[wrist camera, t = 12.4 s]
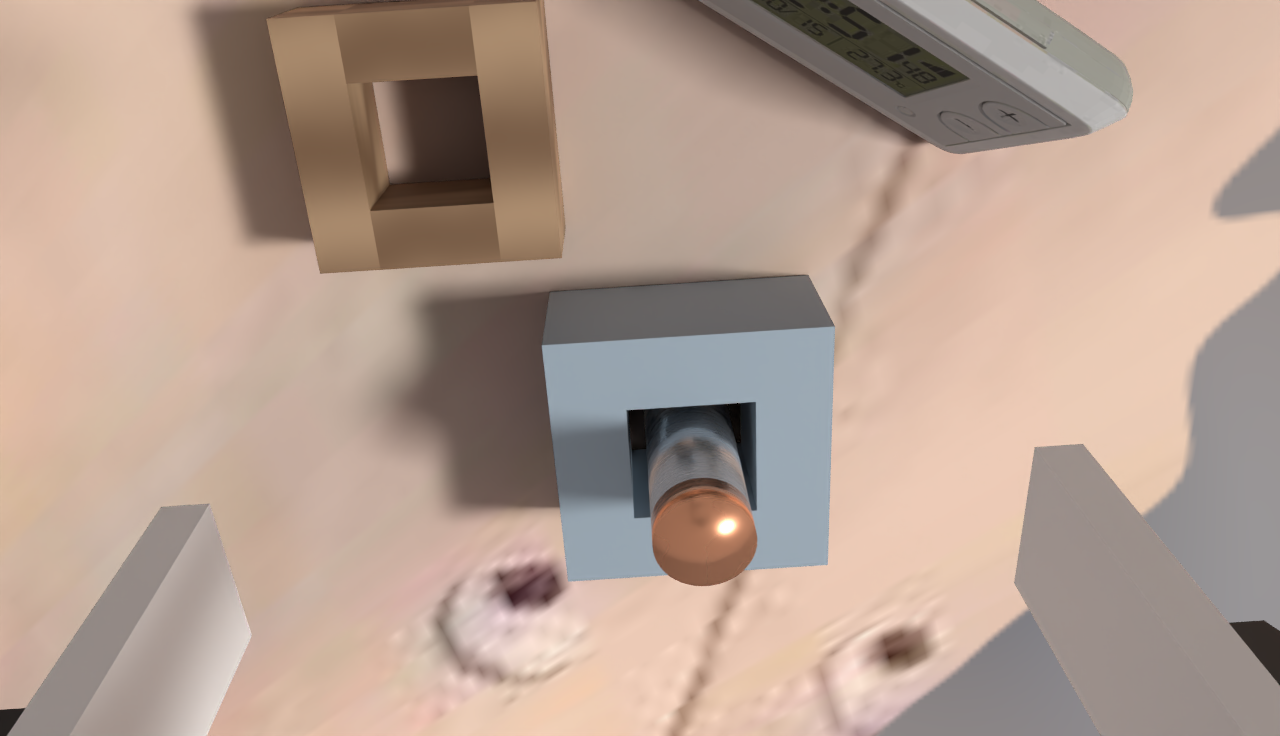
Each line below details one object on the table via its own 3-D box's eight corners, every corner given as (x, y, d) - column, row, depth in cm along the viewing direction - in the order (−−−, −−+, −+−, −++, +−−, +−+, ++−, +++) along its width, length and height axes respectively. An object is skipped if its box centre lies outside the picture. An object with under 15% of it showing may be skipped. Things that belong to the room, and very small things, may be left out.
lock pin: (640, 363, 47) (649, 503, 36) (723, 358, 47) (757, 496, 36) (645, 436, 49) (655, 589, 38) (725, 430, 49) (757, 582, 38)
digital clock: (630, -56, 39) (637, -40, 30) (789, -255, 36) (854, -308, 27) (902, 202, 44) (983, 287, 35) (1060, 44, 41) (1196, 90, 32)
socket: (550, 291, 46) (541, 345, 40) (808, 275, 46) (834, 326, 40) (572, 508, 51) (568, 581, 45) (804, 493, 51) (827, 564, 45)
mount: (297, 7, 40) (265, 18, 36) (542, -9, 40) (536, 1, 36) (344, 242, 44) (320, 273, 41) (565, 228, 44) (561, 257, 41)
